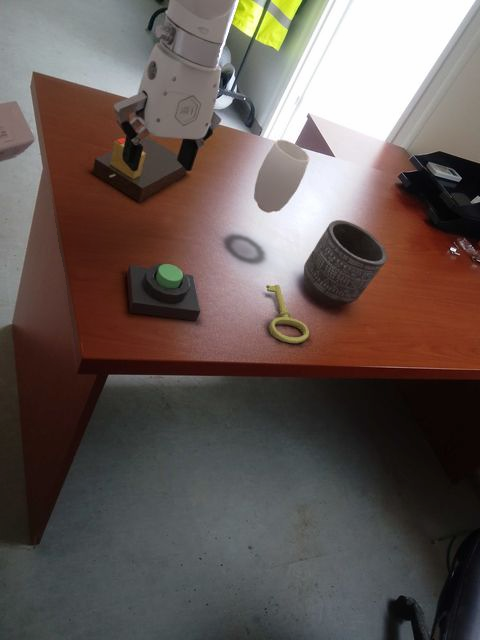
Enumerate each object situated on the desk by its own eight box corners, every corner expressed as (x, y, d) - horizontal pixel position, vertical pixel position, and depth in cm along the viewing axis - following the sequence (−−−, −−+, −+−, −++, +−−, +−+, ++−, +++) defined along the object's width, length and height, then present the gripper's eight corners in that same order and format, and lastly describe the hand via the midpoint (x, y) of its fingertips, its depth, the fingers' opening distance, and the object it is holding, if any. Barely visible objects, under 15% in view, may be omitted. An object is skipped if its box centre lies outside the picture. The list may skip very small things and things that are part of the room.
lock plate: (130, 207, 82) (134, 191, 80) (83, 177, 82) (85, 161, 79) (185, 175, 97) (189, 161, 95) (145, 150, 97) (149, 136, 95)
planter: (309, 263, 95) (341, 212, 86) (357, 298, 94) (394, 249, 85) (285, 286, 85) (318, 231, 77) (338, 325, 84) (377, 274, 76)
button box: (129, 313, 65) (135, 292, 62) (126, 275, 70) (132, 255, 67) (196, 321, 70) (204, 302, 67) (189, 285, 74) (196, 266, 72)
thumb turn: (140, 175, 84) (146, 152, 81) (132, 179, 82) (138, 155, 79) (117, 161, 84) (122, 136, 81) (109, 164, 82) (114, 139, 79)
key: (273, 290, 83) (278, 282, 82) (310, 341, 78) (316, 333, 77) (242, 294, 79) (247, 285, 77) (280, 348, 74) (285, 340, 72)
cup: (220, 244, 86) (265, 141, 72) (239, 232, 91) (284, 134, 77) (250, 266, 85) (301, 167, 71) (268, 253, 90) (318, 158, 77)
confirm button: (156, 287, 65) (159, 278, 64) (154, 270, 68) (157, 261, 66) (180, 291, 67) (184, 282, 66) (177, 274, 69) (181, 266, 68)
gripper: (149, 46, 51) (118, 181, 62) (257, 69, 62) (215, 180, 74) (115, 13, 53) (92, 149, 64) (225, 42, 65) (189, 152, 76)
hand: (157, 165), depth 69 cm, fingers open, 9 cm apart
